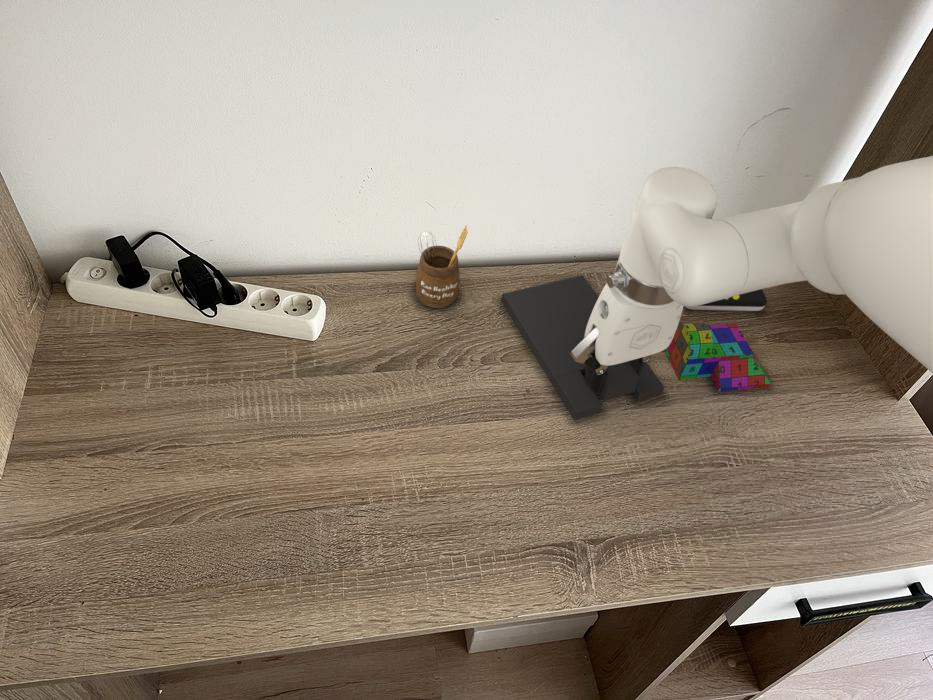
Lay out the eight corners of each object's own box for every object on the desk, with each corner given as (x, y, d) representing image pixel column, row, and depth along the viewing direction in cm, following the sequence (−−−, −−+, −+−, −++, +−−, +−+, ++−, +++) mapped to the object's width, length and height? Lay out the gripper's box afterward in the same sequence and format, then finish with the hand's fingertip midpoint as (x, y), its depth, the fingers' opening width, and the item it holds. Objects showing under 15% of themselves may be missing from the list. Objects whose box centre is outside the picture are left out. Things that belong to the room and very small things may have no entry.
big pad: (661, 394, 97) (664, 387, 96) (573, 420, 93) (576, 413, 92) (580, 282, 110) (582, 274, 109) (500, 301, 106) (502, 293, 105)
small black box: (633, 392, 95) (640, 377, 93) (603, 401, 94) (609, 386, 92) (614, 364, 98) (619, 348, 96) (584, 372, 97) (589, 357, 95)
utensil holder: (413, 280, 107) (417, 213, 98) (457, 280, 108) (464, 213, 99) (416, 310, 103) (420, 243, 94) (461, 309, 104) (469, 243, 95)
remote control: (766, 312, 110) (771, 303, 108) (682, 311, 108) (686, 301, 107) (752, 283, 114) (757, 274, 112) (671, 281, 112) (675, 271, 111)
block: (685, 394, 98) (702, 360, 93) (663, 348, 103) (678, 313, 98) (768, 386, 100) (790, 353, 95) (743, 341, 105) (761, 307, 100)
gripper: (599, 315, 77) (565, 420, 91) (731, 282, 83) (680, 386, 96) (565, 268, 82) (538, 375, 95) (693, 239, 87) (649, 344, 101)
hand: (610, 379), depth 96 cm, fingers closed on small black box, 4 cm apart
